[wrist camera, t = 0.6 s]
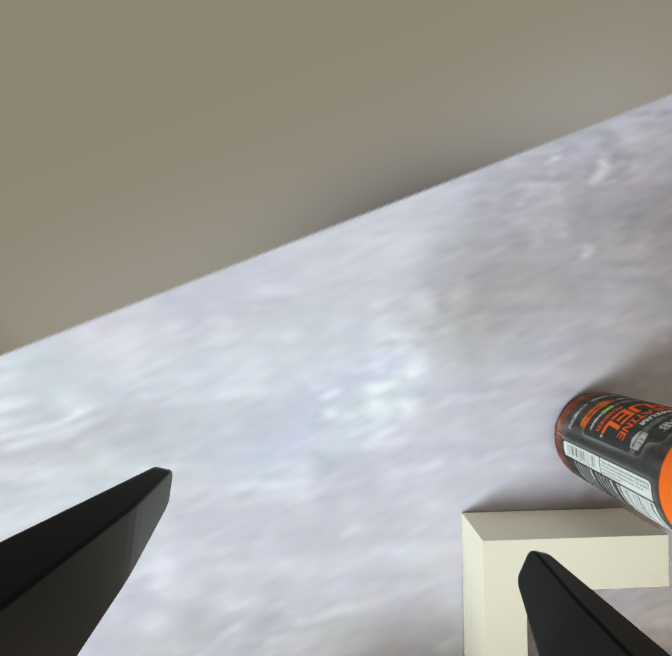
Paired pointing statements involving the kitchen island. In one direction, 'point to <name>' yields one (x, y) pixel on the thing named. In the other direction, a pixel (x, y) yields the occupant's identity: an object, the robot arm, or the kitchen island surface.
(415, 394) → the kitchen island surface
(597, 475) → the supplement bottle
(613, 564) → the u-shaped block
